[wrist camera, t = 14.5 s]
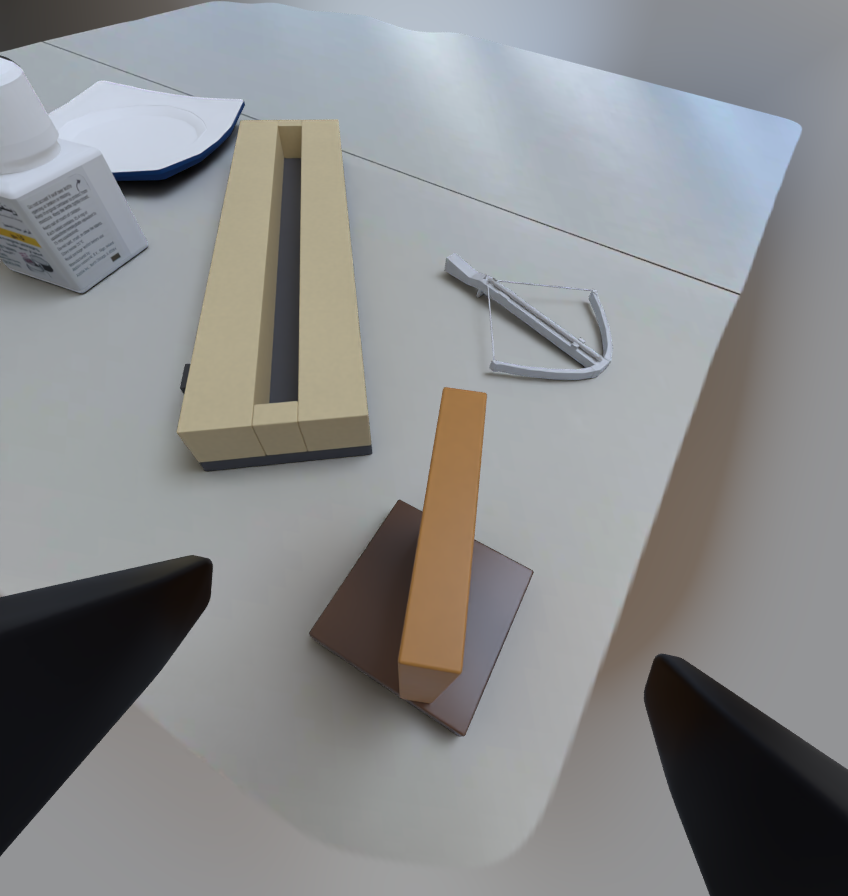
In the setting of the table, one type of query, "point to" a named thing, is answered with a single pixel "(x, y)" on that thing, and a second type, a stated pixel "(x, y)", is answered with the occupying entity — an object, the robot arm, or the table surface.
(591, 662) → the table surface
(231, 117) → the plate
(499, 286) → the crossbow
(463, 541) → the toast
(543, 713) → the table surface
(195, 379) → the toaster
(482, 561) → the bread board
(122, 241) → the container
